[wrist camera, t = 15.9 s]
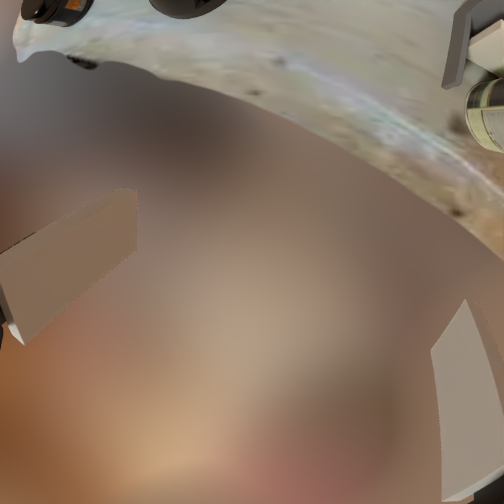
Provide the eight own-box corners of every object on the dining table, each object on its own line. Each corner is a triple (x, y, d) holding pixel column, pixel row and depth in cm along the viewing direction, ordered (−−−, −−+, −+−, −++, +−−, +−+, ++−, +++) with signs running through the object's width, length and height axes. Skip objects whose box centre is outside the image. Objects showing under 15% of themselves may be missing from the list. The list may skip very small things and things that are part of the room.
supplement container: (101, -20, 35) (58, -33, 25) (86, 25, 40) (40, 17, 29) (69, -11, 37) (29, -20, 26) (56, 30, 42) (13, 26, 31)
